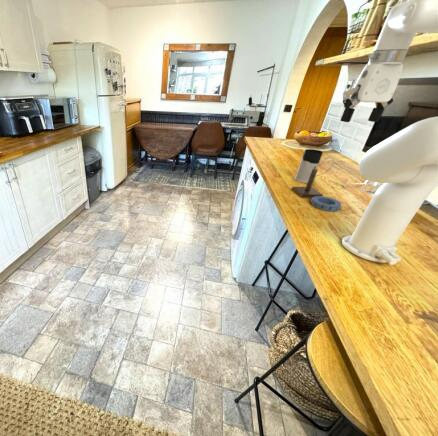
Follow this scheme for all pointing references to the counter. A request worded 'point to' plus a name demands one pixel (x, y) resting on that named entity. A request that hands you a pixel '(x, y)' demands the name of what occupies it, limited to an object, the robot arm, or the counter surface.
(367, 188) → the wineglass
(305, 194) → the stand
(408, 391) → the counter surface
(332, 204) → the ring
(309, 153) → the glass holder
